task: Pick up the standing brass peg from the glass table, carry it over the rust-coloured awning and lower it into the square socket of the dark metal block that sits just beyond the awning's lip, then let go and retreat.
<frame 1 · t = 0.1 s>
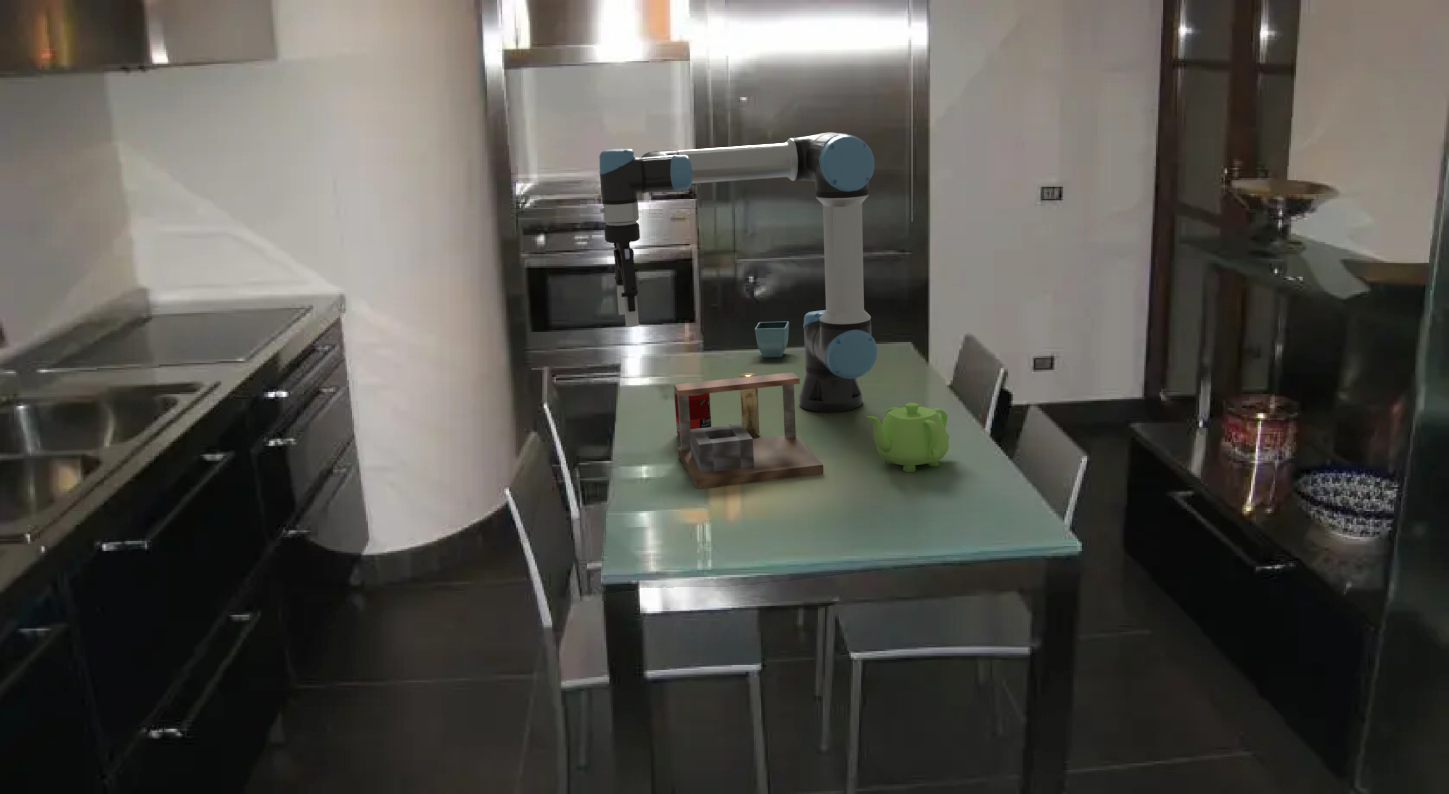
hand: (628, 320, 269), 28 cm above the table, fingers open, 13 cm apart
flower pot: (773, 356, 349), on the table
station: (748, 464, 257), on the table
teapot: (908, 465, 252), on the table
peg: (750, 435, 277), on the table
canned food: (694, 435, 279), on the table
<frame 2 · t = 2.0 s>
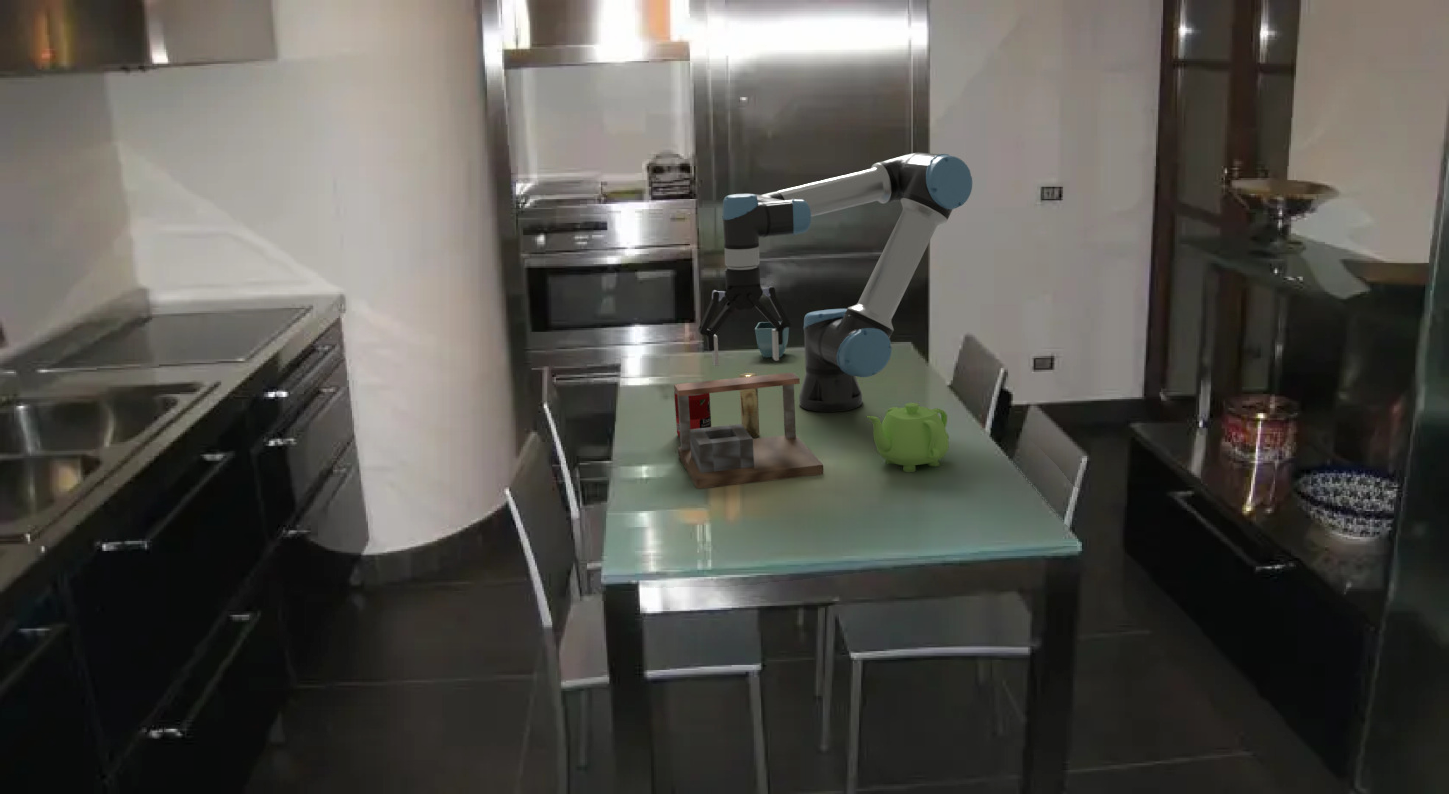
hand: (746, 362, 272), 17 cm above the table, fingers open, 13 cm apart
nothing on the table moved.
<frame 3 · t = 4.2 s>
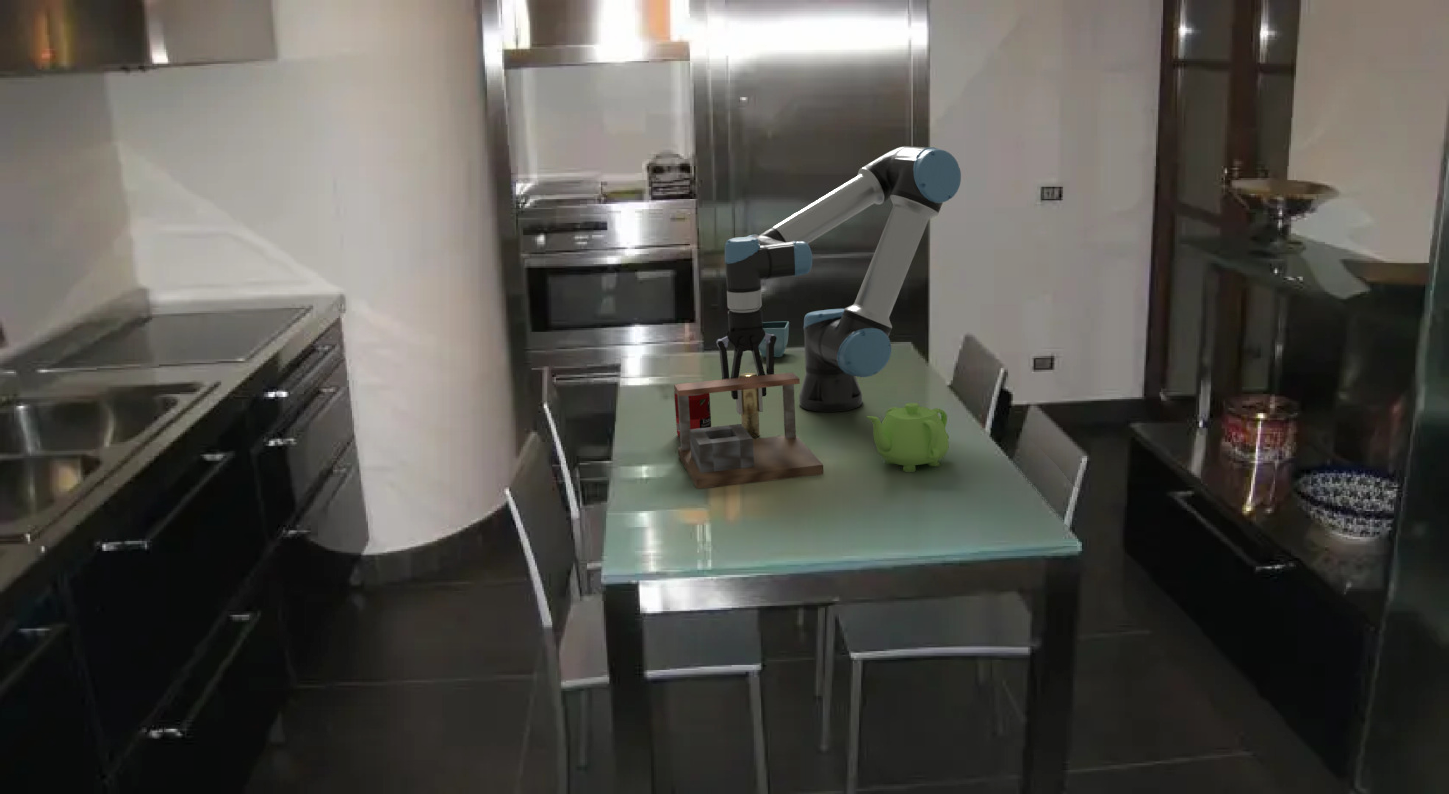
hand: (749, 411, 275), 6 cm above the table, fingers closed on peg, 4 cm apart
peg: (750, 435, 277), on the table, touching gripper
everything else where it was.
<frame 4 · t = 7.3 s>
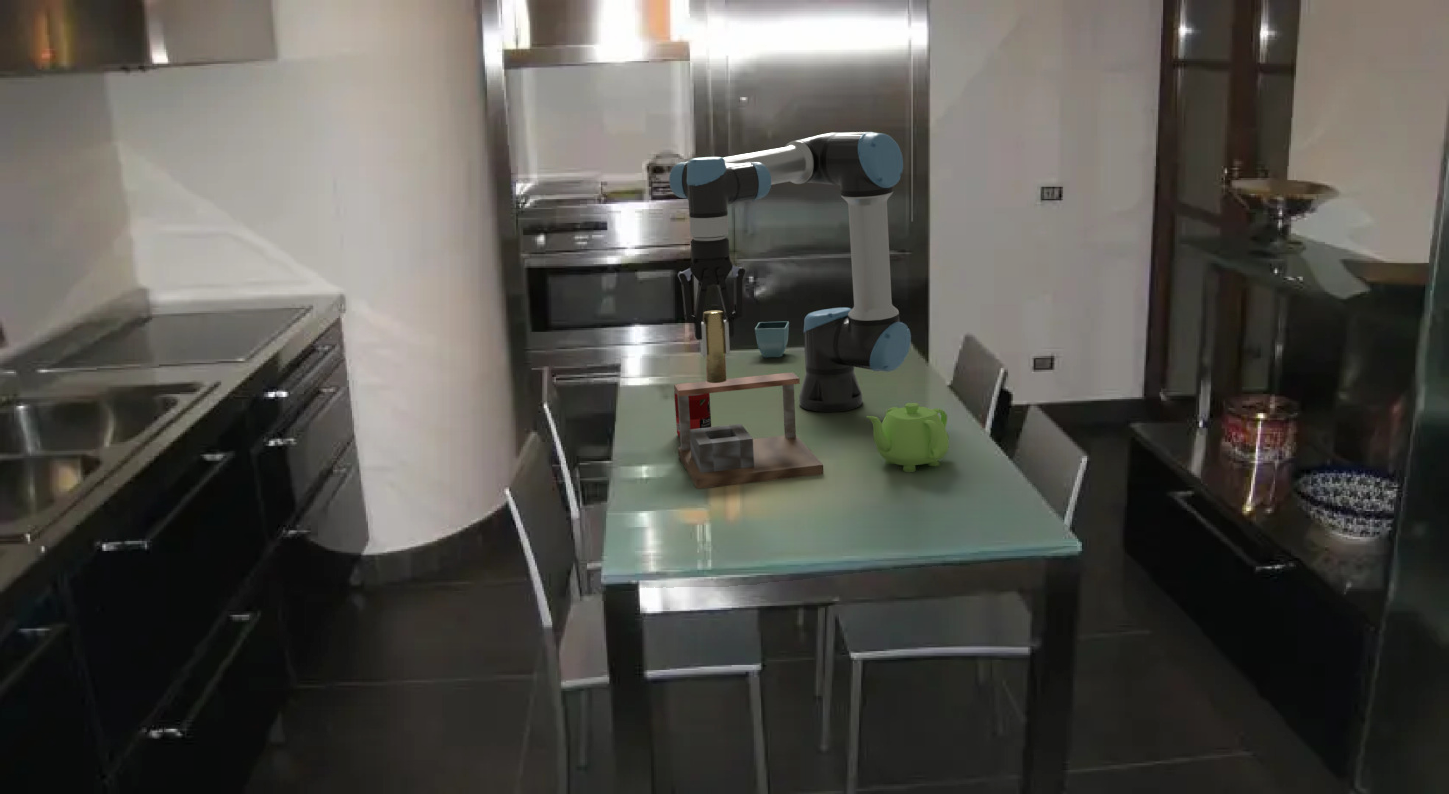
hand: (715, 353, 247), 25 cm above the table, fingers closed on peg, 4 cm apart
peg: (716, 380, 249), point 19 cm above the table, touching gripper
everything else where it was.
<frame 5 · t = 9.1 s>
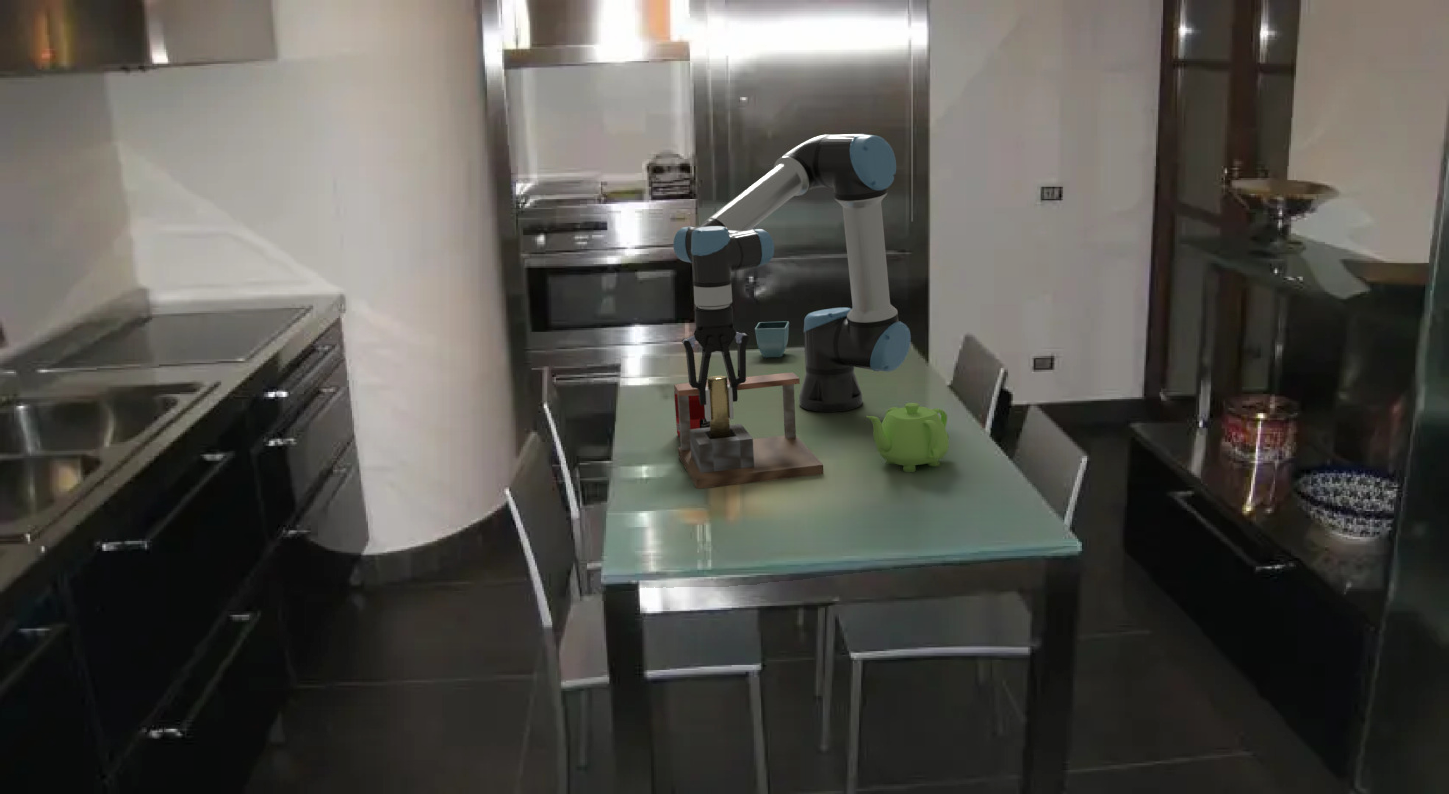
hand: (719, 418, 251), 11 cm above the table, fingers closed on peg, 4 cm apart
peg: (720, 444, 252), point 6 cm above the table, touching gripper
everything else where it was.
when the fingers open (10 cm above the table, at t = 10.4 s): peg drops 2 cm, resting on station.
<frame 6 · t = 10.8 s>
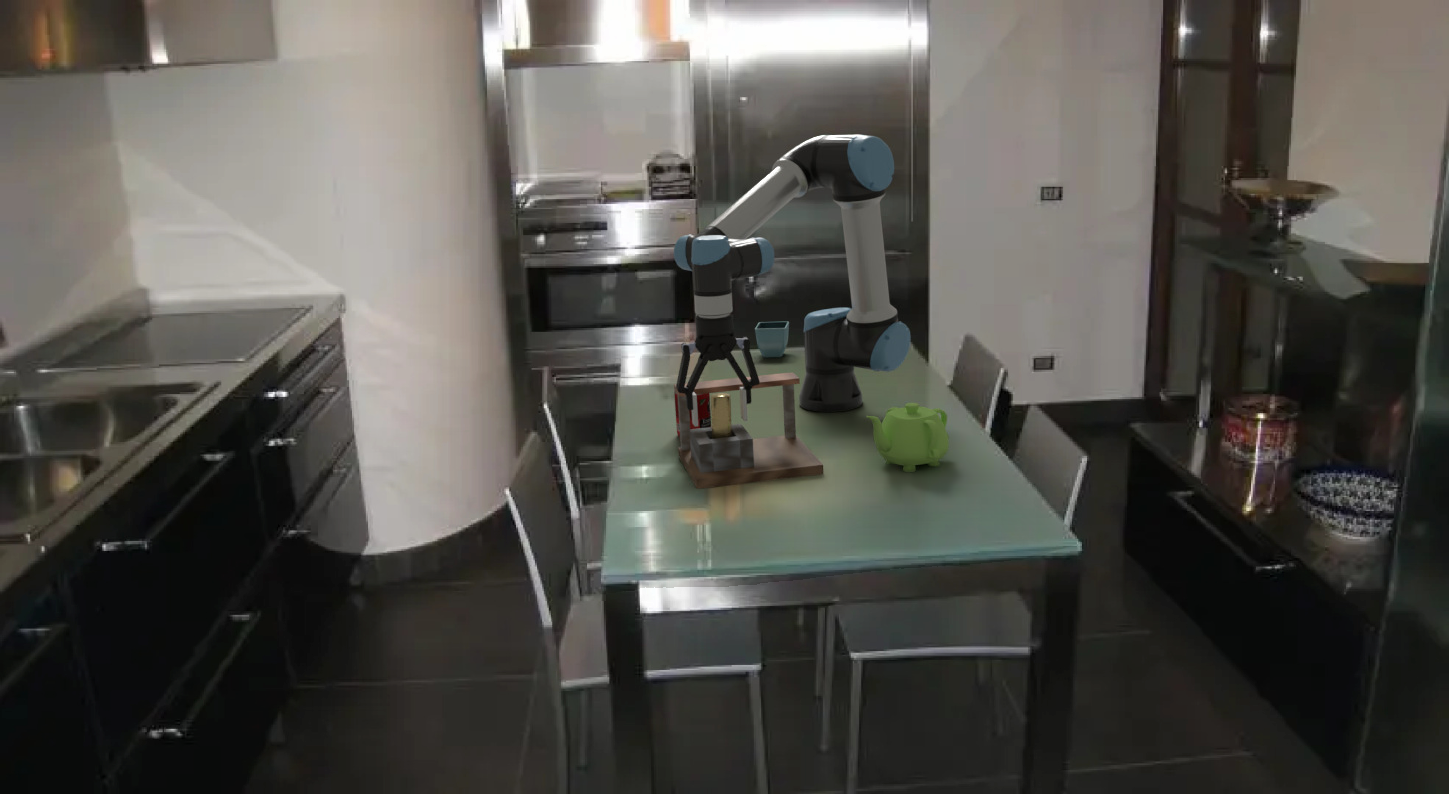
hand: (719, 421, 251), 11 cm above the table, fingers open, 9 cm apart
peg: (722, 461, 253), point 2 cm above the table, touching station
everything else where it was.
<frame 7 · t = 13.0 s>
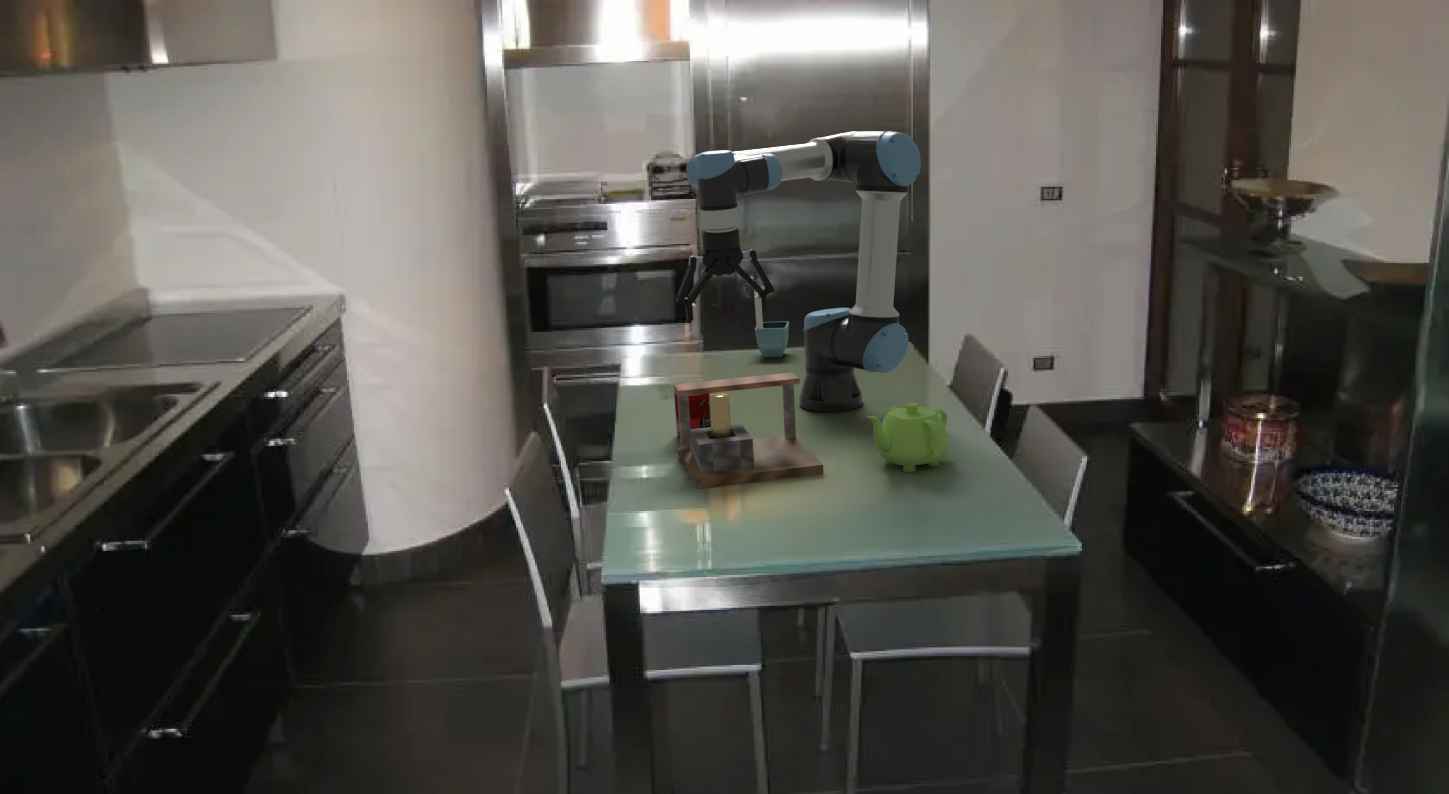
hand: (728, 331, 254), 28 cm above the table, fingers open, 13 cm apart
nothing on the table moved.
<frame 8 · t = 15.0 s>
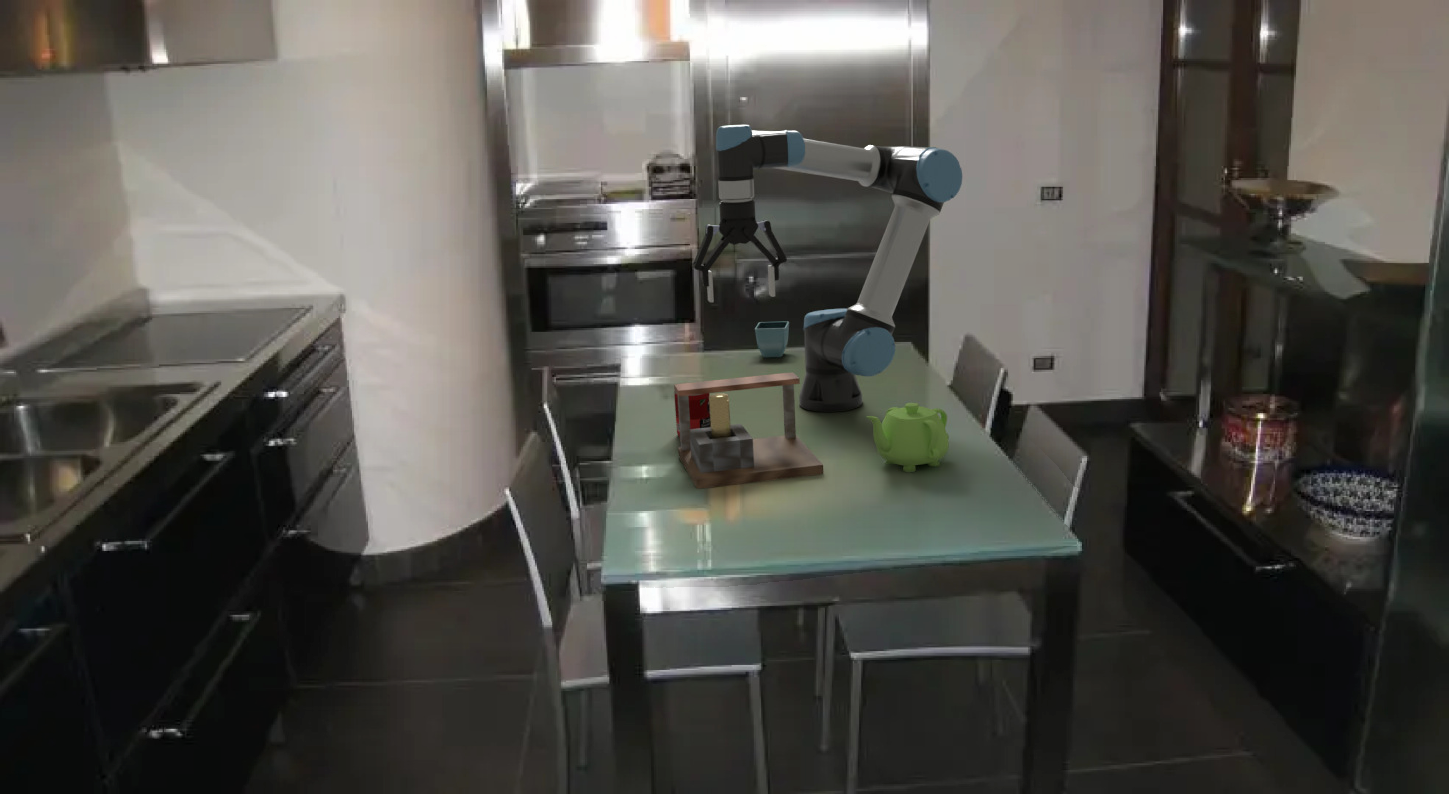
hand: (741, 298, 266), 32 cm above the table, fingers open, 13 cm apart
nothing on the table moved.
at the end: peg 0.2 cm from the target spot on the station, point 2.0 cm above the station's base; peg tilted 1°; the gripper is holding nothing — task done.
